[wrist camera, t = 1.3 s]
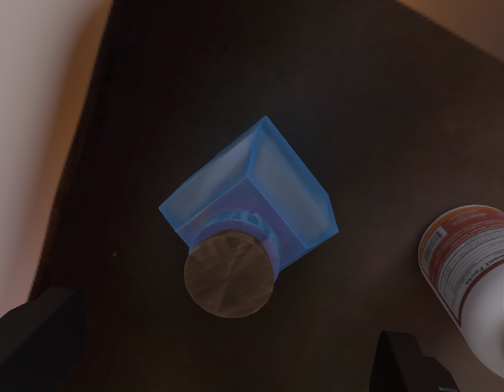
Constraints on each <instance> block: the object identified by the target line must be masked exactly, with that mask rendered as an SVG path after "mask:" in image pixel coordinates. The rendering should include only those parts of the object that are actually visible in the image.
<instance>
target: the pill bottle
mask: <svg viewBox="0 0 504 392" xmlns="http://www.w3.org/2000/svg"><path fill="white" fill-rule="evenodd" d="M418 262H419V266H420V269H421V271H422V274H423V276H424V277H425V279H426V281H427V283H428V284H429V286H430V287H431V289H432V290H433V292H434V293H435V295H436V296H437V298H438V299H439V301H440V302H441V304H442V306H443V307H444V309H445V310H446V312H447V313H448V315H449V316H450V318H451V320H452V321H453V323H454V324H455V326H456V327H457V329H458V331H459V332H460V334H461V335H462V337H463V339H464V340H465V342H466V343H467V345H468V346H469V348H470V349H471V350H472V352H473V353H474V355H475V356H476V357H477V358H478V359H479V360H480V362H482V363H483V364H484V365H485V366H486V367H487V368H488V369H490V370H491V371H493V372H494V373H496V374H497V375H499V376H501V377H503V378H504V212H502V211H500V210H498V209H495V208H493V207H489V206H483V205H467V206H462V207H458V208H455V209H452V210H450V211H448V212H446V213H444V214H442V215H441V216H439V217H438V218H437V219H436V220H434V221H433V222H432V223H431V224H430V226H429V227H428V228H427V229H426V231H425V232H424V234H423V236H422V238H421V241H420V244H419V248H418Z"/></svg>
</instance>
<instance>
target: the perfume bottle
mask: <svg viewBox="0 0 504 392" xmlns="http://www.w3.org/2000/svg"><path fill="white" fill-rule="evenodd" d="M159 210H160V211H161V212H162V214H163V215H164V216H165V218H166V219H167V220H168V222H169V223H170V225H171V226H172V227H173V229H174V230H175V231H176V232H177V234H178V235H179V236H180V237H181V238H182V239H183V240H184V241H185V243H186V244H187V245H188V246H189V247H190V249H189V256H188V259H187V261H186V263H185V267H184V280H185V284H186V287H187V291H188V292H189V294H190V295H191V297H192V298H193V300H194V301H195V302H196V303H197V304H198V305H199V306H201V307H202V308H203V309H204V310H205V311H208V312H210V313H212V314H214V315H217V316H221V317H228V318H237V317H244V316H247V315H249V314H252V313H254V312H256V311H258V310H259V309H260V308H261V307H262V306H263V305H264V304H266V303H267V301H268V299H269V297H270V295H271V294H272V292H273V287H274V282H275V280H276V278H277V277H278V273H279V272H280V271H282V270H283V269H285V268H286V267H287V266H289V265H290V264H292V263H293V262H295V261H296V260H298V259H299V258H301V257H302V256H304V255H305V254H307V253H308V252H310V251H311V250H313V249H314V248H316V247H317V246H319V245H320V244H322V243H323V242H325V241H326V240H328V239H329V238H330V237H332V236H333V235H335V234H336V233H338V232H339V231H338V228H337V224H336V221H335V217H334V213H333V210H332V206H331V203H330V199H329V195H328V194H327V192H326V191H325V190H324V188H323V187H322V186H321V185H320V183H319V182H318V181H317V180H316V178H315V177H314V176H313V174H312V173H311V172H310V171H309V169H308V168H307V167H306V165H305V164H304V163H303V162H302V160H301V159H300V158H299V157H298V155H297V154H296V153H295V151H294V150H293V149H292V148H291V146H290V145H289V144H288V142H287V141H286V140H285V139H284V137H283V136H282V135H281V134H280V132H279V131H278V130H277V128H276V127H275V126H274V125H273V123H272V122H271V121H270V119H269V118H268V117H267V116H266V115H265V116H264V117H263V118H262V119H261V120H259V121H258V122H257V123H256V124H254V125H253V126H252V127H251V128H249V129H248V130H247V131H246V132H244V133H243V134H242V135H241V136H240V137H238V138H237V139H236V140H235V141H233V142H232V143H231V144H230V145H228V146H227V147H226V148H225V149H223V150H222V151H221V152H220V153H219V154H217V155H216V156H215V157H214V158H212V159H211V160H210V161H209V162H207V163H206V164H205V165H204V166H202V167H201V168H200V169H199V170H198V171H196V172H195V173H194V174H193V175H191V176H190V177H189V178H188V179H187V180H186V181H185V182H184V183H183V184H182V185H181V186H180V187H179V188H178V189H177V190H176V191H175V192H174V193H173V194H172V195H171V196H170V197H169V198H168V199H167V200H166V201H165V202H164V203H163V204H162V205H161V206H160V207H159Z"/></svg>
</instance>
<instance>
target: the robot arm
mask: <svg viewBox="0 0 504 392" xmlns="http://www.w3.org/2000/svg"><path fill="white" fill-rule="evenodd" d="M86 342H87V326H86V297H85V292H84V290H83V289H80V288H72V287H65V286H57V285H54V286H52V287H50V288H49V289H48V290H47V291H46V292H45V293H43V294H42V295H41V296H40V297H39V298H38V299H37V300H35V301H29V302H27V303H25V304H22V305H20V306H18V307H16V308H14V309H12V310H10V311H9V312H7V313H6V314H5V315H4V316H3V317H1V318H0V392H57V391H58V389H59V388H60V387H61V385H62V384H63V383H64V381H65V380H66V379H67V377H68V376H69V375H70V373H71V372H72V371H73V369H74V368H75V367H76V365H77V364H78V363H79V361H80V360H81V358H82V356H83V353H84V350H85V347H86ZM459 391H460V390H459V389H458V387H457V385H456V383H455V381H454V379H453V377H452V375H451V373H450V372H449V371H448V370H446V369H445V368H444V367H443V366H442V365H441V364H440V363H439V362H438V361H437V360H436V359H435V358H433V357H426V356H424V355H423V353H422V351H421V349H420V347H419V345H418V343H417V340H416V338H415V336H414V335H413V334H407V333H400V332H392V331H385V330H383V331H382V332H381V334H380V336H379V341H378V345H377V350H376V355H375V359H374V364H373V369H372V373H371V378H370V387H369V392H459Z"/></svg>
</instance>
